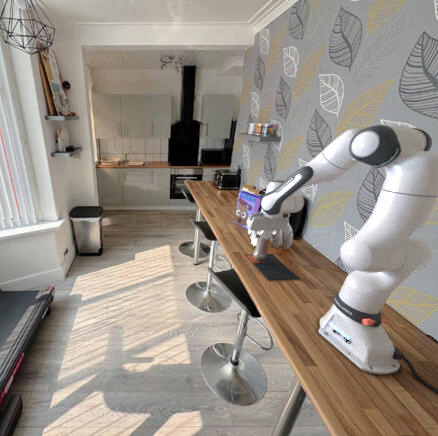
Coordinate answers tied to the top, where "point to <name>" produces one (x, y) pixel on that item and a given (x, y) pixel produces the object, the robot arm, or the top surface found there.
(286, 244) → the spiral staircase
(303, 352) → the top surface
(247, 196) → the cereal box
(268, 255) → the mat
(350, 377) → the top surface
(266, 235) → the plastic bottle
